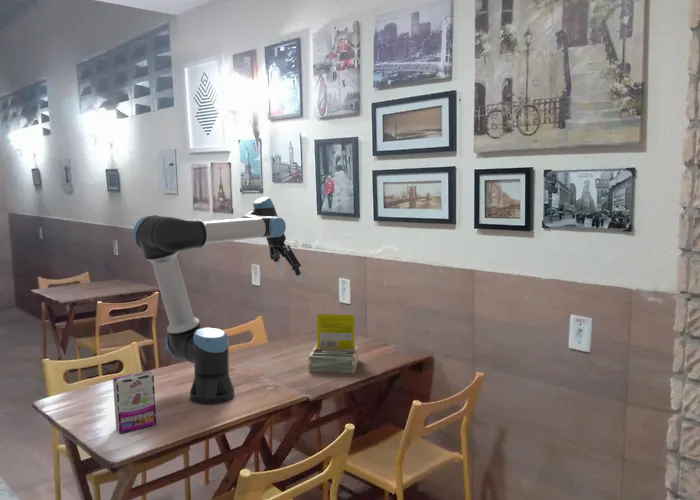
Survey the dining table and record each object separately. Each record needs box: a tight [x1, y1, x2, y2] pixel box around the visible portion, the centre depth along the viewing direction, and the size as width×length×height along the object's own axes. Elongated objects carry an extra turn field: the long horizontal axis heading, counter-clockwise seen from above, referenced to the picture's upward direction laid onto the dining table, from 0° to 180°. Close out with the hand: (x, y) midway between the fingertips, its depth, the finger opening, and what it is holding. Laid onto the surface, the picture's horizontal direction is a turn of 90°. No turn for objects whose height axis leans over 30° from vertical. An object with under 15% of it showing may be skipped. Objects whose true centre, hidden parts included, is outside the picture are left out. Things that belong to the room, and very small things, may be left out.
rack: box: [308, 344, 359, 374], centre depth 240 cm, size 16×18×6 cm
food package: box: [317, 313, 355, 349], centre depth 244 cm, size 15×1×20 cm, turn 84°
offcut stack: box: [322, 349, 348, 354], centre depth 240 cm, size 5×12×6 cm, turn 84°
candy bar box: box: [112, 370, 157, 435], centre depth 180 cm, size 11×5×16 cm, turn 126°
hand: (291, 277), depth 248 cm, fingers open, 13 cm apart
